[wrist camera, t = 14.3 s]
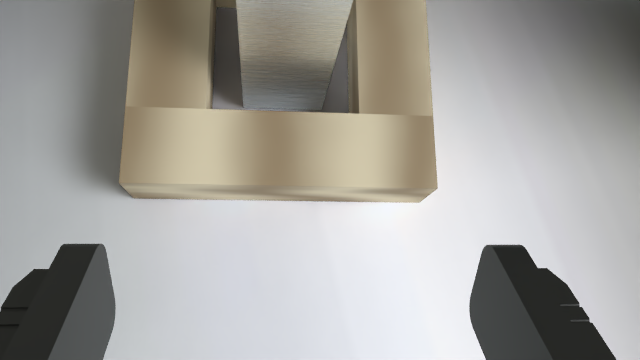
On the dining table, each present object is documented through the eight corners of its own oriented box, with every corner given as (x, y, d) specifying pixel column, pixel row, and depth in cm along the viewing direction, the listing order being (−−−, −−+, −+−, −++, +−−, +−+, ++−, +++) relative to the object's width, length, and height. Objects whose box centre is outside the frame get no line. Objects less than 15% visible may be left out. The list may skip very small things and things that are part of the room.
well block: (406, -39, 32) (420, -75, 29) (419, 202, 28) (437, 188, 25) (153, -54, 30) (142, -94, 27) (133, 198, 27) (118, 182, 24)
